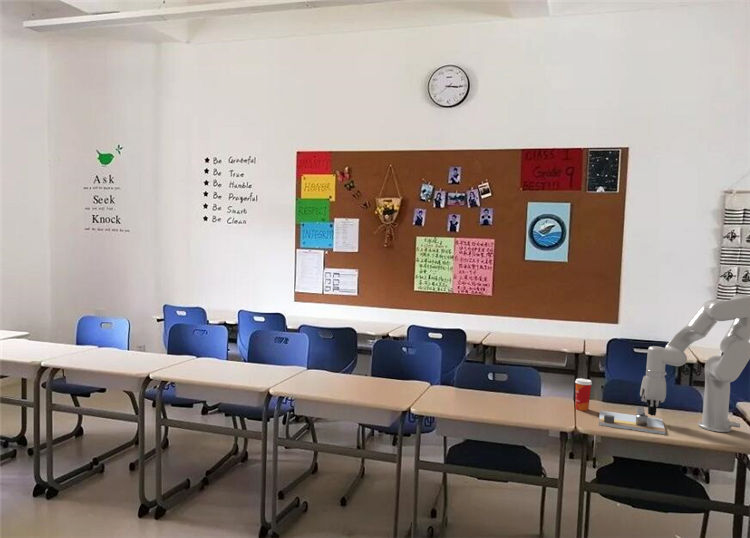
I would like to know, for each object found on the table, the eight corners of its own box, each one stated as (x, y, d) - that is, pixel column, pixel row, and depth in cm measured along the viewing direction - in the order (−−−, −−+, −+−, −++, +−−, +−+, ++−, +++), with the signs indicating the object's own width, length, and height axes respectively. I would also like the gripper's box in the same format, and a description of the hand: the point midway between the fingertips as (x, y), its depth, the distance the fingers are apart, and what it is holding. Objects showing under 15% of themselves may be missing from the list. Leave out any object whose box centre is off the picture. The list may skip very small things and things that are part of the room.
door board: (661, 421, 264) (662, 412, 264) (665, 434, 246) (665, 425, 246) (599, 413, 274) (600, 404, 274) (598, 424, 256) (599, 415, 255)
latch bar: (647, 426, 251) (648, 415, 250) (635, 424, 252) (636, 413, 252) (645, 415, 267) (646, 405, 267) (634, 413, 269) (635, 403, 269)
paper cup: (575, 406, 284) (577, 377, 284) (591, 409, 280) (593, 380, 280) (571, 409, 278) (573, 380, 277) (588, 412, 274) (590, 383, 273)
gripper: (664, 372, 268) (661, 412, 269) (634, 372, 266) (631, 412, 267) (675, 376, 260) (672, 417, 261) (644, 376, 258) (641, 417, 259)
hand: (651, 414), depth 264 cm, fingers closed
